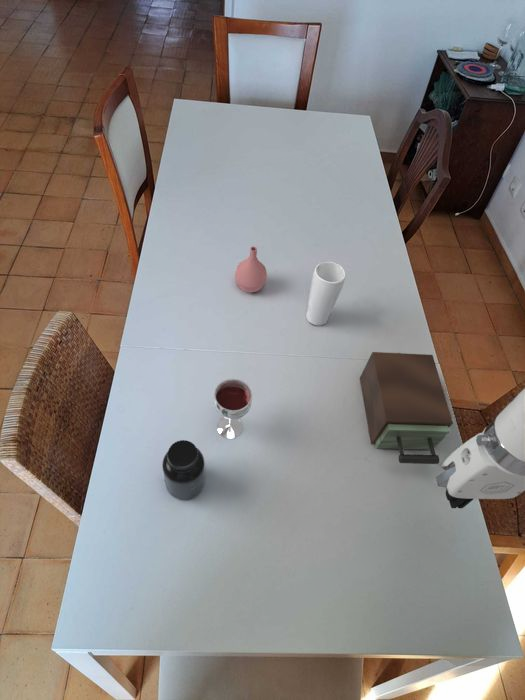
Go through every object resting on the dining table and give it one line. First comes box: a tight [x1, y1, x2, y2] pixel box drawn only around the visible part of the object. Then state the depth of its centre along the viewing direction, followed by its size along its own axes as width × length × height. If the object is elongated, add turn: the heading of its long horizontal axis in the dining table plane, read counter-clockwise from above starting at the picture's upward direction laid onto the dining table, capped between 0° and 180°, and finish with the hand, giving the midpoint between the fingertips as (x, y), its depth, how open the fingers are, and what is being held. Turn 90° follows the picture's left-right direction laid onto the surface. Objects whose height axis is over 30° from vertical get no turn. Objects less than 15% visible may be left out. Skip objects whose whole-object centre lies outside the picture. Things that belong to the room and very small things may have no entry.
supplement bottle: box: [162, 439, 206, 501], centre depth 76 cm, size 7×7×12 cm
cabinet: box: [359, 351, 454, 445], centre depth 91 cm, size 16×13×10 cm
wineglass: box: [213, 378, 253, 440], centre depth 84 cm, size 7×7×12 cm
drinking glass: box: [305, 261, 347, 327], centre depth 102 cm, size 7×7×15 cm
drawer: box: [375, 423, 451, 465], centre depth 88 cm, size 20×11×8 cm, turn 1°
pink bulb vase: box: [234, 246, 268, 293], centre depth 107 cm, size 8×8×12 cm
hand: (453, 498), depth 70 cm, fingers closed
